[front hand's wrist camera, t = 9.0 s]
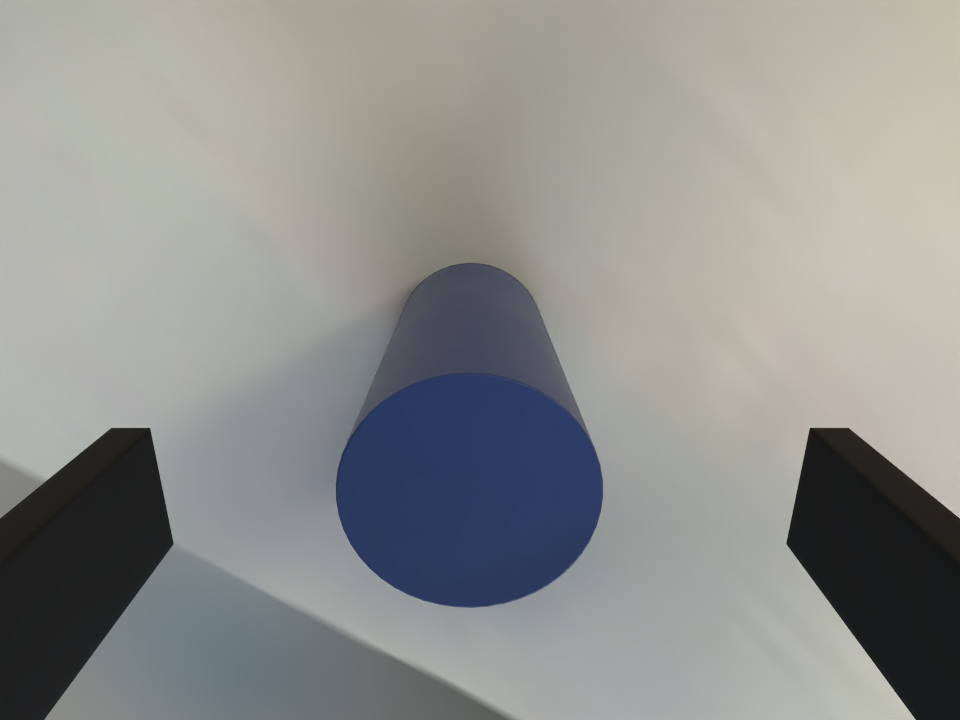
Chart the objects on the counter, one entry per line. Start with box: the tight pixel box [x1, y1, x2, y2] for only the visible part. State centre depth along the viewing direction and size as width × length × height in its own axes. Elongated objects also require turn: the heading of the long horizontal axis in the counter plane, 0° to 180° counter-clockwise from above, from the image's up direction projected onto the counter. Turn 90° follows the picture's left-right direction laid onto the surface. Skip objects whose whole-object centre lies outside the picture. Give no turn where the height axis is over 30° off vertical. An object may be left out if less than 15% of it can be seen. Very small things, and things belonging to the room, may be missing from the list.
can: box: [336, 263, 603, 608], centre depth 19 cm, size 6×6×13 cm
